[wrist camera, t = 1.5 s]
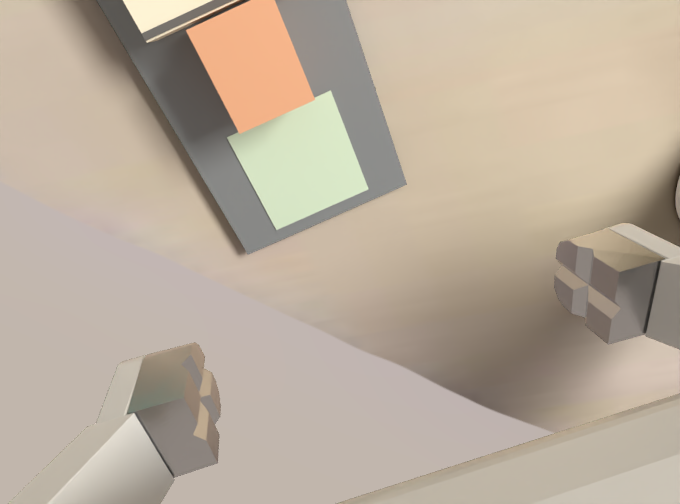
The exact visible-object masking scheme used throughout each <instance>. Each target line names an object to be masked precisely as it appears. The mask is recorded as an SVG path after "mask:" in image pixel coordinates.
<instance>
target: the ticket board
mask: <svg viewBox="0 0 680 504" xmlns="http://www.w3.org/2000/svg"><path fill="white" fill-rule="evenodd" d="M96 1H97V2H98V4H99V6H100V7H101V9H102V11H103V12H104V14H105V16H106V17H107V19H108V21H109V22H110V24H111V26H112V27H113V29H114V31H115V32H116V34H117V36H118V37H119V39H120V41H121V42H122V44H123V46H124V47H125V49H126V51H127V53H128V54H129V56H130V58H131V59H132V61H133V63H134V64H135V66H136V68H137V69H138V71H139V73H140V74H141V76H142V78H143V79H144V81H145V83H146V84H147V86H148V88H149V89H150V91H151V93H152V94H153V96H154V98H155V99H156V101H157V103H158V104H159V106H160V108H161V110H162V111H163V113H164V115H165V116H166V118H167V120H168V121H169V123H170V125H171V126H172V128H173V130H174V131H175V133H176V135H177V136H178V138H179V140H180V141H181V143H182V145H183V146H184V148H185V150H186V151H187V153H188V155H189V156H190V158H191V160H192V161H193V163H194V165H195V166H196V168H197V170H198V172H199V173H200V175H201V177H202V178H203V180H204V182H205V183H206V185H207V187H208V188H209V190H210V192H211V193H212V195H213V197H214V198H215V200H216V202H217V203H218V205H219V207H220V208H221V210H222V212H223V213H224V215H225V217H226V218H227V220H228V222H229V223H230V225H231V227H232V228H233V230H234V232H235V234H236V235H237V237H238V239H239V240H240V242H241V244H242V245H243V247H244V249H245V250H246V252H247V254H251V253H253V252H255V251H257V250H260V249H262V248H264V247H266V246H269V245H271V244H273V243H276V242H278V241H280V240H282V239H285V238H287V237H289V236H291V235H294V234H296V233H298V232H300V231H303V230H305V229H307V228H309V227H312V226H314V225H316V224H318V223H321V222H323V221H325V220H328V219H330V218H332V217H334V216H337V215H339V214H341V213H343V212H346V211H348V210H350V209H352V208H355V207H357V206H359V205H361V204H364V203H366V202H368V201H370V200H373V199H375V198H377V197H380V196H382V195H384V194H386V193H389V192H391V191H393V190H395V189H398V188H400V187H402V186H404V185H407V183H406V180H405V177H404V174H403V171H402V168H401V165H400V162H399V159H398V156H397V153H396V150H395V147H394V144H393V141H392V138H391V135H390V132H389V129H388V126H387V123H386V120H385V117H384V114H383V111H382V108H381V105H380V102H379V99H378V96H377V93H376V90H375V87H374V84H373V81H372V78H371V74H370V71H369V68H368V65H367V62H366V59H365V56H364V53H363V50H362V47H361V44H360V41H359V38H358V35H357V32H356V29H355V26H354V23H353V20H352V17H351V14H350V11H349V8H348V5H347V2H346V0H275V2H276V5H277V7H278V9H279V12H280V14H281V17H282V19H283V22H284V24H285V27H286V29H287V32H288V34H289V37H290V39H291V41H292V44H293V46H294V49H295V51H296V54H297V56H298V59H299V61H300V64H301V66H302V69H303V71H304V73H305V76H306V78H307V81H308V83H309V86H310V88H311V91H312V93H313V96H314V98H315V100H314V101H312V102H309V103H307V104H305V105H303V106H301V107H298V108H296V109H294V110H292V111H289V112H287V113H285V114H283V115H281V116H278V117H276V118H274V119H272V120H270V121H267V122H265V123H263V124H261V125H259V126H256V127H254V128H252V129H250V130H247V131H245V132H243V133H241V134H239V132H238V130H237V128H236V126H235V124H234V122H233V120H232V118H231V117H230V115H229V113H228V111H227V109H226V107H225V105H224V103H223V101H222V99H221V97H220V95H219V93H218V91H217V89H216V88H215V86H214V84H213V82H212V80H211V78H210V76H209V74H208V72H207V70H206V68H205V66H204V64H203V62H202V61H201V59H200V57H199V55H198V53H197V51H196V49H195V47H194V45H193V43H192V41H191V39H190V37H189V35H188V33H187V32H186V30H187V29H190V28H192V27H194V26H196V25H198V24H200V23H203V22H205V21H207V20H209V19H211V18H213V17H216V16H218V15H220V14H222V13H224V12H226V11H229V10H231V9H233V8H235V7H237V6H239V5H241V4H244V3H246V2H248V1H250V0H96Z"/></svg>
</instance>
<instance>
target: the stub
mask: <svg viewBox="0 0 680 504" xmlns="http://www.w3.org/2000/svg"><path fill="white" fill-rule="evenodd" d="M186 32H187V33H188V35H189V37H190V39H191V41H192V43H193V45H194V47H195V49H196V51H197V53H198V55H199V57H200V59H201V61H202V62H203V64H204V66H205V68H206V70H207V72H208V74H209V76H210V78H211V80H212V82H213V84H214V86H215V88H216V89H217V91H218V93H219V95H220V97H221V99H222V101H223V103H224V105H225V107H226V109H227V111H228V113H229V115H230V117H231V118H232V120H233V122H234V124H235V126H236V128H237V130H238V132H239V134H241V133H243V132H245V131H247V130H250V129H252V128H254V127H256V126H259V125H261V124H263V123H265V122H267V121H270V120H272V119H274V118H276V117H278V116H281V115H283V114H285V113H287V112H289V111H292V110H294V109H296V108H298V107H301V106H303V105H305V104H307V103H309V102H312V101H314V100H315V98H314V96H313V93H312V91H311V88H310V86H309V83H308V81H307V78H306V76H305V73H304V71H303V69H302V66H301V64H300V61H299V59H298V56H297V54H296V51H295V49H294V46H293V44H292V41H291V39H290V37H289V34H288V32H287V29H286V27H285V24H284V22H283V19H282V17H281V14H280V12H279V9H278V7H277V5H276V2H275V0H250V1H248V2H246V3H244V4H241V5H239V6H237V7H235V8H233V9H231V10H229V11H226V12H224V13H222V14H220V15H218V16H216V17H213V18H211V19H209V20H207V21H205V22H203V23H200V24H198V25H196V26H194V27H192V28H190V29H187V30H186Z"/></svg>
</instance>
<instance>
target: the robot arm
mask: <svg viewBox="0 0 680 504" xmlns="http://www.w3.org/2000/svg"><path fill="white" fill-rule="evenodd" d="M675 200H676V210H677V214H678V217H679V219H680V177H679V180H678V184H677V189H676V198H675ZM556 259H557V260H558V262H559V263H560V264H561V267H560V268H559V270H558V271H557V273H556V274H555V285H554V288H555V291H556V294H557V297H558V299H559V301H560V302H561V303H562V305H563V306H564V307H565V308H566V309H567V310H568V311H569V312H570V313H572V314H575V315H578V316H581V317H585V325H586V326H587V327H588V328H589V329H590V330H592V331H593V332H594V333H595V334H596V335H597V336H599V337H600V338H601V339H602V340H603V341H605V342H606V343H607V344H612V343H615V342H619V341H622V340H626V339H630V338H633V337H637V336H641V335H644V334H646V337H649V338H652V339H654V340H657V341H659V342H662V343H664V344H667V345H669V346H672V347H674V348H677V349H679V350H680V247H678V246H676V245H674V244H672V243H670V242H668V241H666V240H664V239H662V238H660V237H658V236H656V235H654V234H651V233H649V232H647V231H645V230H643V229H641V228H639V227H637V226H635V225H633V224H631V223H620V224H617V225H614V226H611V227H607V228H604V229H602V230H599V231H596V232H593V233H589V234H586V235H582V236H579V237H575V238H572V239H568V240H565V241H561V242H560V243H559V245H558V247H557V252H556ZM204 361H205V356H204V354H203V352H202V350H201V348H200V346H199V345H198V344H197V343H190V344H187V345H183V346H179V347H175V348H171V349H167V350H163V351H159V352H155V353H151V354H148V355H143V356H140V357H137V358H133V359H129V360H126V361H123V362H121V363H120V364H119V365H118V366H117V368H116V371H115V374H114V376H113V379H112V382H111V385H110V387H109V390H108V393H107V395H106V398H105V400H104V403H103V406H102V409H101V411H100V414H99V417H98V419H97V422H96V424H93V425H90V426H87V427H86V428H85V429H84V430H83V431H82V432H81V433H80V434H79V435H78V436H77V437H76V438H75V439H74V440H73V441H72V442H71V443H70V444H69V445H68V446H67V447H66V448H65V449H64V450H63V451H61V452H60V453H59V454H58V455H57V456H56V457H55V458H54V459H53V460H52V461H51V462H50V463H49V464H48V465H47V466H46V467H45V468H44V469H43V470H42V471H41V472H40V473H39V474H38V475H37V476H36V477H35V478H34V479H33V480H32V481H31V482H30V483H28V485H26V486H25V487H24V488H23V489H22V491H20V492H19V493H18V494H17V495H16V496H15V497H14V498H13V499H12V500H11V501H10V502H9V503H8V504H160V503H161V502H162V500H163V498H164V497H165V495H166V494H167V492H168V490H169V489H170V487H171V485H172V484H173V482H174V477H178V476H181V475H184V474H187V473H189V472H192V471H195V470H198V469H201V468H204V467H208V466H211V465H214V464H217V463H218V449H219V433H218V431H217V428H216V426H215V423H216V422H217V421H218V419H219V417H220V411H221V409H220V408H221V404H220V397H219V391H218V387H217V384H216V381H215V378H214V376H213V374H212V372H210V371H208V370H206V369H204ZM337 504H680V393H679V394H676V395H673V396H670V397H667V398H663V399H660V400H657V401H654V402H651V403H648V404H645V405H642V406H638V407H635V408H632V409H629V410H626V411H623V412H620V413H617V414H614V415H610V416H607V417H604V418H601V419H598V420H595V421H592V422H589V423H585V424H582V425H579V426H576V427H573V428H570V429H567V430H564V431H561V432H557V433H554V434H551V435H548V436H545V437H542V438H539V439H536V440H533V441H529V442H527V443H523V444H520V445H517V446H514V447H511V448H508V449H505V450H502V451H499V452H495V453H492V454H489V455H486V456H483V457H480V458H476V459H473V460H470V461H467V462H464V463H461V464H458V465H455V466H452V467H448V468H445V469H442V470H439V471H436V472H433V473H430V474H427V475H424V476H420V477H417V478H414V479H411V480H408V481H405V482H402V483H399V484H395V485H393V486H389V487H386V488H383V489H380V490H377V491H374V492H371V493H367V494H364V495H361V496H358V497H355V498H352V499H349V500H346V501H343V502H340V503H337Z"/></svg>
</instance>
